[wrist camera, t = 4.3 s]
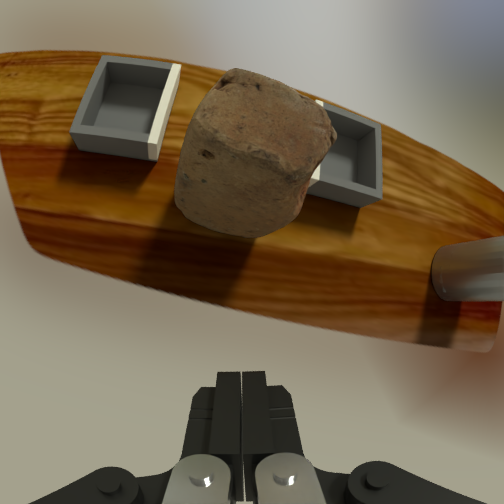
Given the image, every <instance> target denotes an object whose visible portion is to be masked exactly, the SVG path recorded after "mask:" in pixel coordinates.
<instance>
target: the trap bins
mask: <svg viewBox="0 0 504 504" xmlns="http://www.w3.org/2000/svg"><path fill="white" fill-rule="evenodd" d="M180 69H181V65H179V64H173V63H167V62H160V61H153V60H145V59H137V58H128V57H118V56H105V55H102V57H101V59H100V61H99V63H98V65H97V67H96V70H95V72H94V74H93V76H92V78H91V80H90V82H89V85H88V87H87V89H86V91H85V94H84V96H83V98H82V101H81V103H80V106H79V108H78V111H77V113H76V116H75V118H74V121H73V123H72V126H71V129H70V134H71V136H72V138H73V140H74V142H75V144H76V146H77V147H78V149H79V150H80V151H88V152H95V153H103V154H110V155H116V156H123V157H130V158H136V159H142V160H148V161H154V162H157V160H158V156H159V152H160V148H161V145H162V141H163V137H164V133H165V130H166V126H167V123H168V119H169V116H170V112H171V109H172V105H173V102H174V99H175V95H176V92H177V89H178V83H179V76H180ZM315 102H316V103H318V104H320V105H321V106H322V107H323V108H324V109H325V111H326V112H327V115H328V117H329V119H330V120H331V124H332V126H333V128H334V130H335V131H336V133H337V139H336V141H335V143H334V144H333V145H332V146H331V147H330V149H329V151H328V152H327V154H326V156H325V158H324V159H323V161H322V162H321V164H320V165H319V166H318V167H317V169H316V170H315V171H314V173H313V175H312V177H311V179H310V184H309V186H308V189H307V192H306V194H310V195H314V196H318V197H322V198H326V199H330V200H333V201H337V202H341V203H345V204H348V205H352V206H355V207H359V208H361V207H364V206H366V205H369V204H371V203H374V202H376V201H379V200H381V199H382V141H381V125H380V124H378V123H376V122H373V121H371V120H368V119H366V118H364V117H361V116H359V115H356V114H354V113H351V112H349V111H346V110H343V109H341V108H338V107H335V106H333V105H330V104H327V103H324V102H322V101H319V100H315Z"/></svg>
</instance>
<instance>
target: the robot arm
mask: <svg viewBox="0 0 504 504" xmlns="http://www.w3.org/2000/svg"><path fill="white" fill-rule="evenodd" d="M432 282H433V286H434V289H435V291H436V293H437V294H438V296H439V297H440V298H441V299H443V300H444V301H504V236H499V237H493V238H488V239H482V240H477V241H471V242H465V243H459V244H453V245H447V246H443V247H441V248H440V249H439V250H438V251H437V253H436V254H435V257H434V259H433V263H432ZM241 395H242V396H241ZM243 464H244V478H245V492H246V501H253V504H486V503H484V502H481V501H478V500H475V499H472V498H469V497H467V496H464V495H462V494H459V493H456V492H454V491H451V490H449V489H446V488H444V487H441V486H439V485H437V484H434V483H432V482H430V481H427V480H425V479H423V478H421V477H418V476H416V475H414V474H412V473H409V472H407V471H405V470H403V469H401V468H399V467H397V466H395V465H393V464H390V463H387V462H382V461H372V462H366V463H364V464H361V465H359V466H358V467H356V468H355V469H354V470H353V471H352V472H351V474H342V473H332V472H326V471H323V470H320V469H317V468H315V467H314V466H313V465H312V464H311V462H309V460H308V459H306V458H305V456H304V454H303V450H302V445H301V440H300V436H299V431H298V427H297V422H296V418H295V412H294V409H293V403H292V398H291V394H290V393H289V392H288V391H287V390H286V389H285V388H284V387H283V386H282V385H278V386H267V385H266V376H265V371H253V372H251V371H250V372H242V394H241V374H240V372H218V373H217V380H216V387H201V388H200V389H199V390H198V392H197V393H196V394H195V395H194V396H193V399H192V404H191V411H190V414H189V420H188V424H187V429H186V434H185V440H184V445H183V450H182V455H181V458H180V460H179V462H178V463H177V464H176V465H175V466H174V467H173V468H172V469H170V470H169V471H167V472H164V473H162V474H158V475H152V476H145V477H137V478H135V476H133V474H131V473H130V472H129V471H127V470H125V469H122V468H119V467H104V468H100V469H98V470H95V471H94V472H92V473H90V474H88V475H86V476H84V477H82V478H81V479H79V480H77V481H75V482H73V483H71V484H69V485H67V486H65V487H63V488H61V489H59V490H57V491H55V492H53V493H51V494H49V495H47V496H44V497H42V498H40V499H38V500H36V501H34V502H31V503H29V504H236V501H244V493H243V492H244V489H243Z"/></svg>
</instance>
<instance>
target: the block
mask: <svg viewBox="0 0 504 504" xmlns="http://www.w3.org/2000/svg"><path fill="white" fill-rule="evenodd" d="M336 139H337V133H336V131H335V130H334V128H333V126H332V124H331V120H330V119H329V117H328V115H327V112H326V111H325V109H324V108H323V107H322V106H321V105H320V104H318V103H316V102H315V101H313V100H312V99H310V98H308V97H306V96H304V95H301V94H300V93H298V92H297V91H296V90H294V89H293V88H291V87H289V86H287V85H285V84H283V83H282V82H280V81H277V80H274V79H271V78H268V77H266V76H263V75H260V74H257V73H254V72H250V71H246V70H243V69H238V68H234V69H231V70H229V71H227V72H226V73H225V74H224V75H223V76H222V77H221V78H220V79H219V81H218V82H217V83H216V84H215V85H214V86H213V88H212V89H211V90H210V91H209V92H208V93H207V94H206V95H205V97H204V98H203V100H202V101H201V103H200V104H199V106H198V108H197V109H196V111H195V113H194V115H193V117H192V119H191V122H190V124H189V126H188V129H187V132H186V135H185V138H184V142H183V145H182V149H181V153H180V159H179V164H178V169H177V175H176V181H175V190H174V194H175V204H176V206H177V207H178V208H179V209H180V210H181V211H182V213H183V214H184V216H185V217H186V218H187V219H189V220H191V221H192V222H194V223H196V224H198V225H200V226H203V227H206V228H208V229H210V230H214V231H217V232H219V233H226V234H229V235H234V236H242V237H244V238H257V237H262V236H265V235H267V234H269V233H272V232H274V231H276V230H278V229H280V228H282V227H284V226H286V225H287V224H289V223H290V222H291V221H293V220H294V219H295V218H296V217H297V216H298V214H299V213H300V210H301V208H302V205H303V202H304V198H305V195H306V192H307V189H308V186H309V184H310V179H311V177H312V175H313V173H314V171H315V170H316V169H317V167H318V166H319V165H320V164H321V162H322V161H323V159H324V158H325V156H326V154H327V152H328V151H329V149H330V147H331V146H332V145H333V144H334V143H335V141H336Z"/></svg>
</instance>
